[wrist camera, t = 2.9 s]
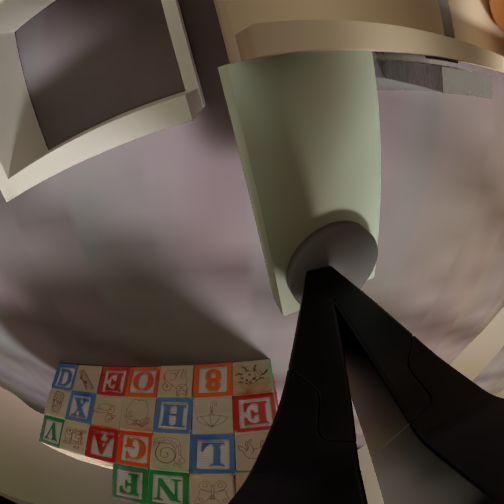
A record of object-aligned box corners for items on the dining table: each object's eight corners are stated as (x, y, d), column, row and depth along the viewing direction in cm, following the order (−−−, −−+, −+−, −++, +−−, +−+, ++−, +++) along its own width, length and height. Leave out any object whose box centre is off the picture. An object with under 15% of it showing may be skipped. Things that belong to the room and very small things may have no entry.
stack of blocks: (90, 389, 25) (73, 483, 16) (58, 360, 22) (31, 467, 12) (277, 387, 24) (290, 508, 15) (272, 356, 21) (288, 512, 11)
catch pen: (161, -65, 4) (138, -96, 2) (206, 105, 10) (194, 120, 7) (2, 30, 5) (-42, 36, 3) (44, 170, 10) (6, 202, 8)
